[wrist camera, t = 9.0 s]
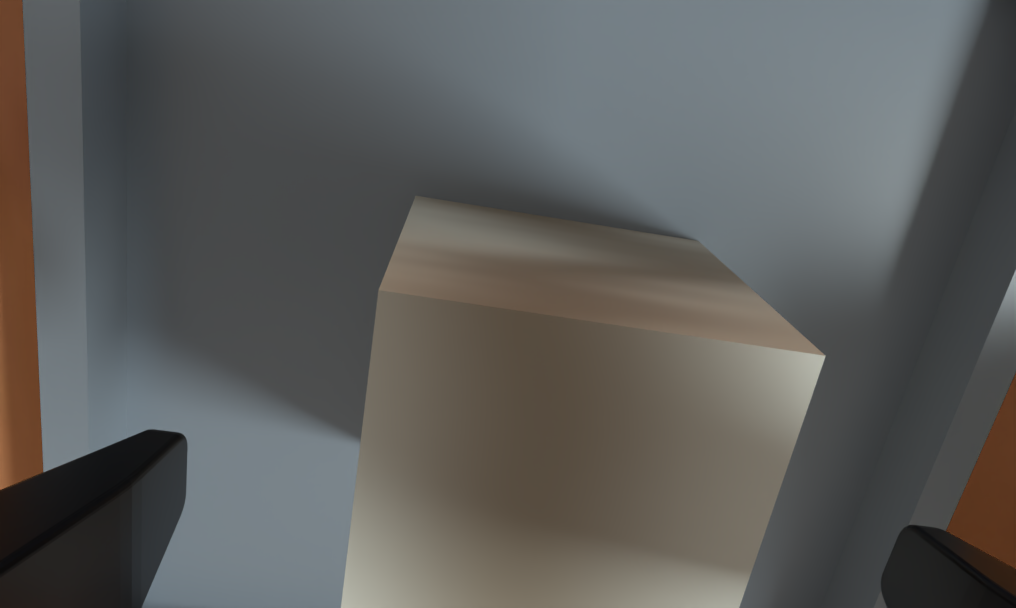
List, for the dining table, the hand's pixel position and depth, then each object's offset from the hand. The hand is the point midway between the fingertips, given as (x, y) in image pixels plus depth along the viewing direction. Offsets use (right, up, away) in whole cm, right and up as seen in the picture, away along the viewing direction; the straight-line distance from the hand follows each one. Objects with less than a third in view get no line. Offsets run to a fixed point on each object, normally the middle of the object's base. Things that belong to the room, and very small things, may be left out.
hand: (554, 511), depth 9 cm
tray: (0, +2, +5) cm, 5 cm away
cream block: (0, +2, +4) cm, 5 cm away
